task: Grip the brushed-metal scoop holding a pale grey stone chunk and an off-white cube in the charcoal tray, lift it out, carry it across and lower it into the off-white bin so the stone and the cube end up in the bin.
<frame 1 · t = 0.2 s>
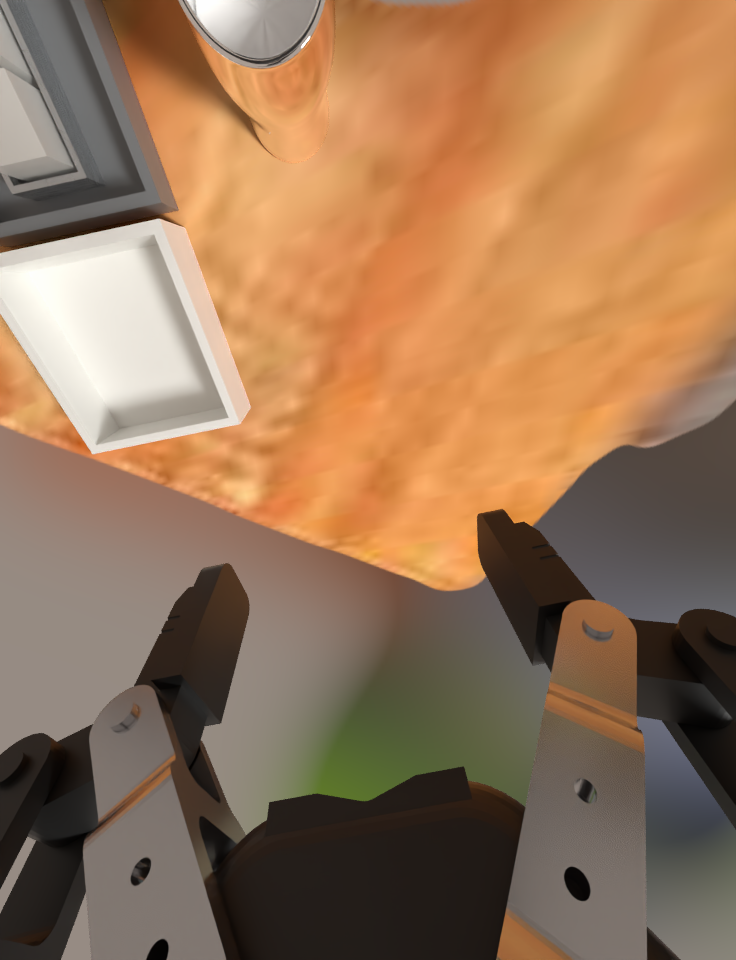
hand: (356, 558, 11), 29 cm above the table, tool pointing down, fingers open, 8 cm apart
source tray: (21, 77, 24), on the table
scoop: (27, 102, 24), point 1 cm above the table, touching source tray, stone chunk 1, off-white cube 2
silver metal goblet: (289, 111, 26), on the table
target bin: (148, 343, 33), on the table
off-white cube 2: (42, 142, 25), point 1 cm above the table, touching scoop
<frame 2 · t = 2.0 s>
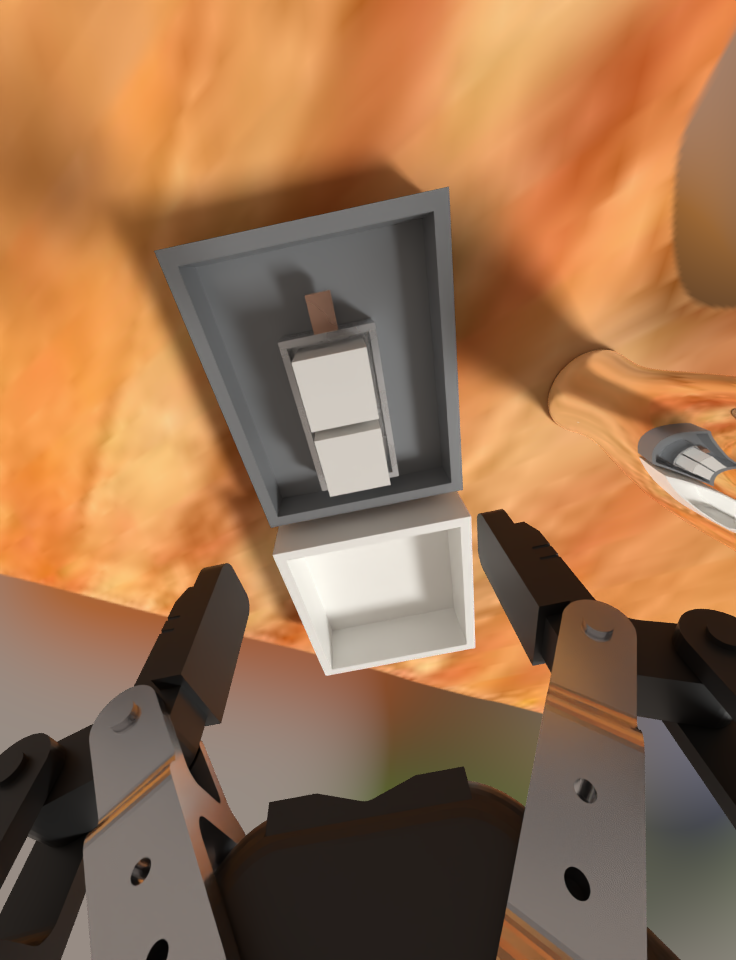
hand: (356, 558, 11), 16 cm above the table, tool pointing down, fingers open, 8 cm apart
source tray: (339, 380, 24), on the table
scoop: (344, 405, 24), point 1 cm above the table, touching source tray, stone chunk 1, off-white cube 2
silver metal goblet: (585, 390, 26), on the table
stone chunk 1: (337, 374, 22), point 1 cm above the table, touching scoop
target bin: (380, 564, 33), on the table
off-white cube 2: (351, 438, 25), point 1 cm above the table, touching scoop
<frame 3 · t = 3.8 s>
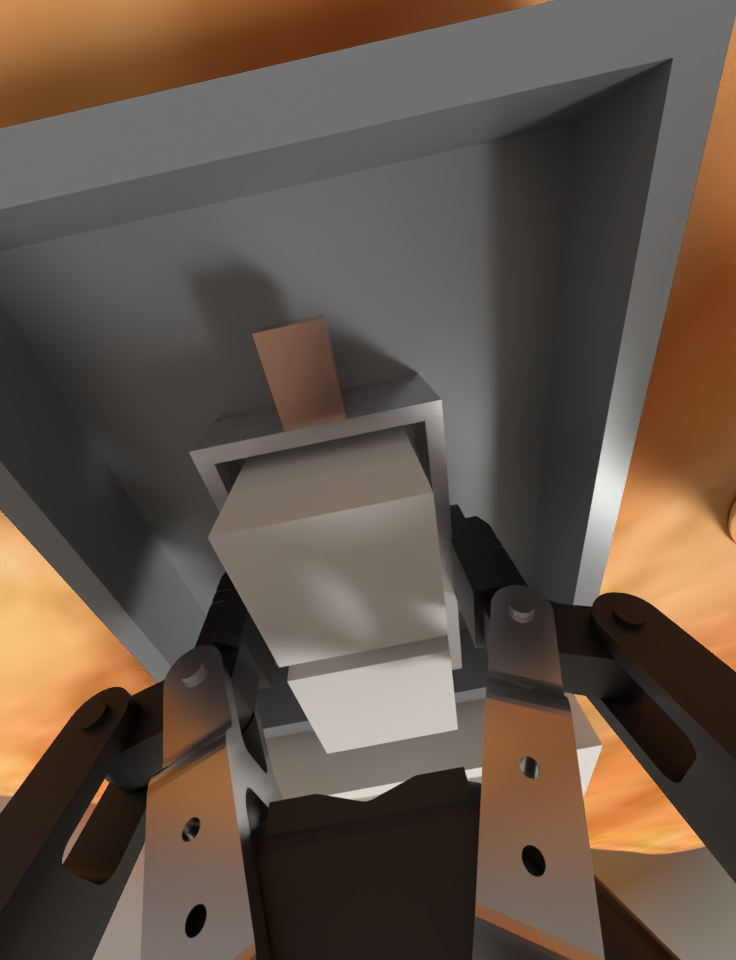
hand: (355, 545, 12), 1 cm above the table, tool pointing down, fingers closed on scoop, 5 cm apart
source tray: (345, 487, 12), on the table
scoop: (355, 534, 12), point 1 cm above the table, touching gripper, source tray, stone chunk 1, off-white cube 2
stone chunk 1: (341, 489, 10), point 1 cm above the table, touching scoop
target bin: (408, 730, 21), on the table
off-white cube 2: (368, 592, 13), point 1 cm above the table, touching scoop
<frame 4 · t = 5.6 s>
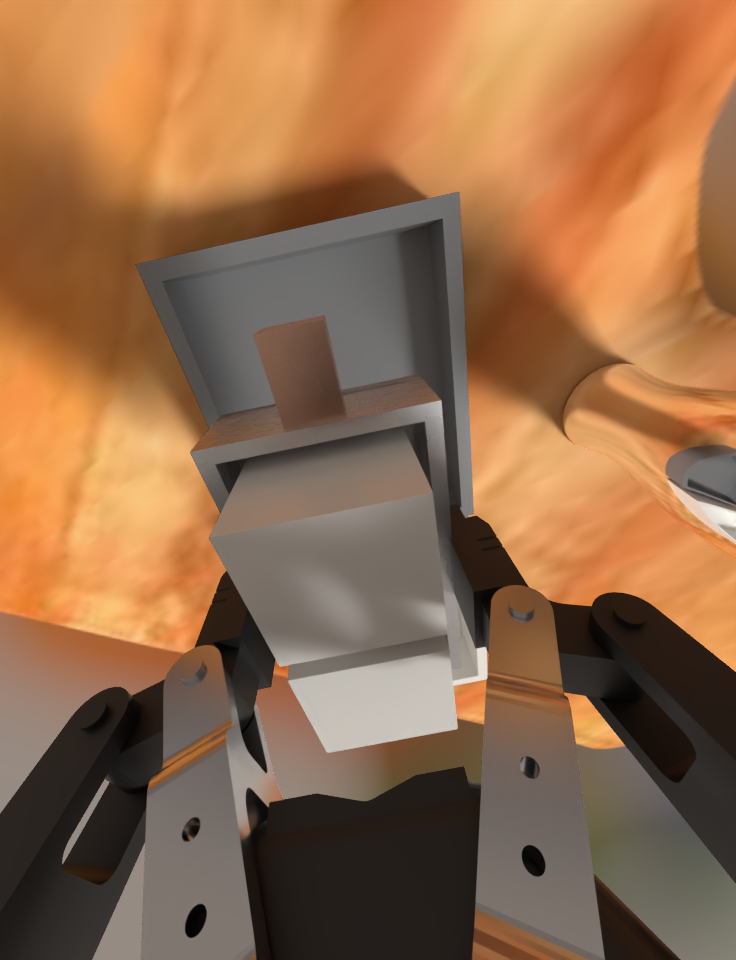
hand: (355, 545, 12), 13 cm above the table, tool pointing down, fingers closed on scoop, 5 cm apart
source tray: (340, 399, 22), on the table
scoop: (355, 534, 12), point 12 cm above the table, touching gripper, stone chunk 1, off-white cube 2
silver metal goblet: (602, 406, 25), on the table
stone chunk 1: (341, 489, 10), point 13 cm above the table, touching scoop
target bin: (385, 590, 31), on the table
off-white cube 2: (368, 592, 13), point 13 cm above the table, touching scoop
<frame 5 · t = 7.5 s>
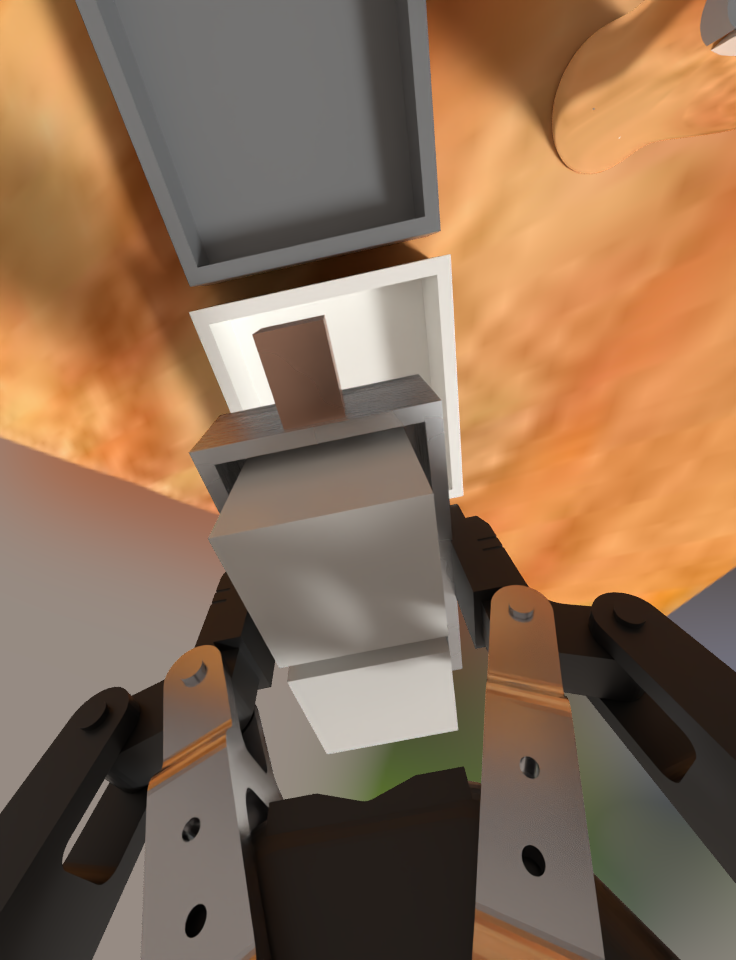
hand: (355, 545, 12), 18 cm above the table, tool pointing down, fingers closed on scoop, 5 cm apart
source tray: (272, 63, 18), on the table
scoop: (355, 535, 12), point 17 cm above the table, touching gripper, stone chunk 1, off-white cube 2
silver metal goblet: (601, 106, 20), on the table
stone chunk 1: (341, 489, 10), point 18 cm above the table, touching scoop
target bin: (347, 396, 27), on the table
off-white cube 2: (368, 592, 13), point 18 cm above the table, touching scoop
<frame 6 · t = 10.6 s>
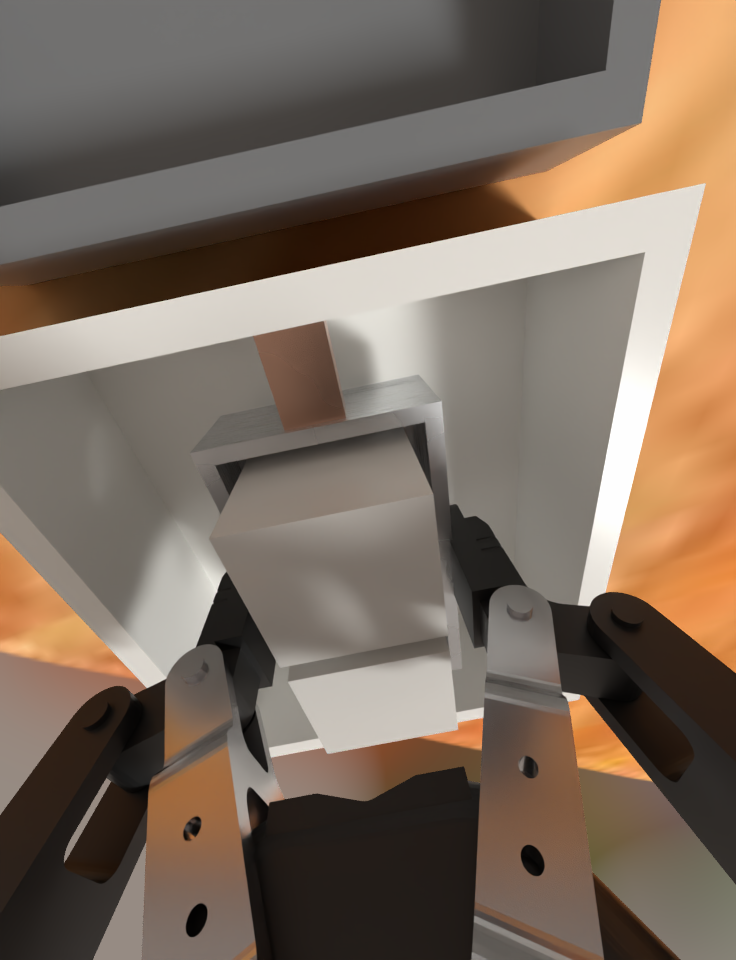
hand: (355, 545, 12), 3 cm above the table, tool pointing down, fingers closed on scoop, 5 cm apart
scoop: (355, 535, 12), point 2 cm above the table, touching gripper, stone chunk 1, off-white cube 2
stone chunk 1: (341, 490, 10), point 3 cm above the table, touching scoop
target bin: (351, 502, 14), on the table
off-white cube 2: (369, 592, 13), point 3 cm above the table, touching scoop
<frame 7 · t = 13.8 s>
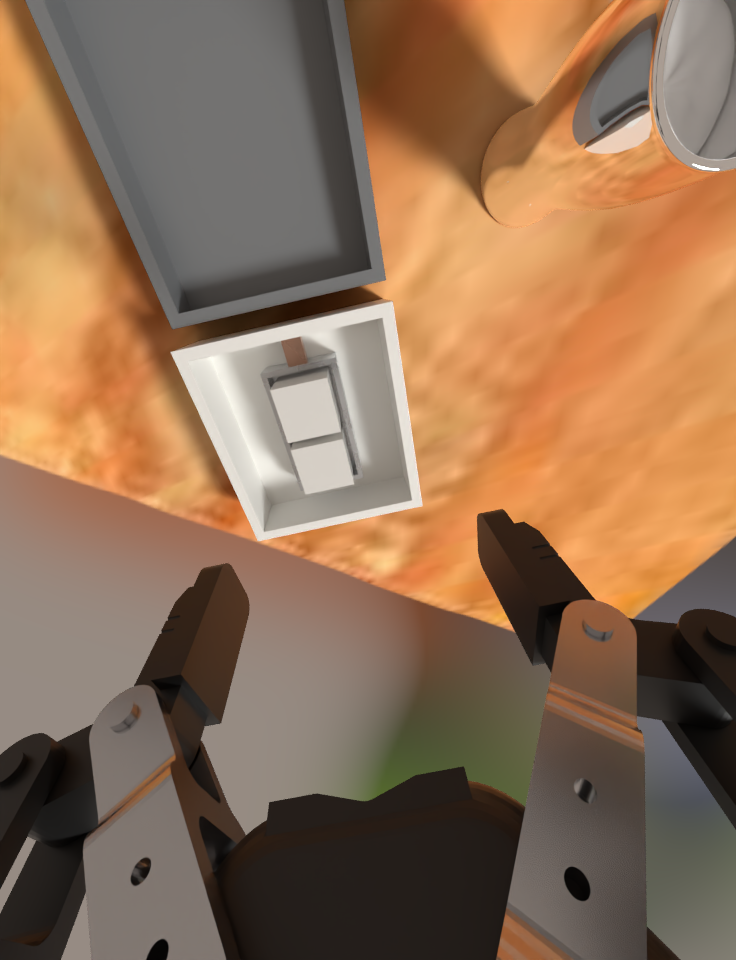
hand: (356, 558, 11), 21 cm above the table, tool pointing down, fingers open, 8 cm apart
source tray: (239, 146, 21), on the table
scoop: (317, 420, 30), point 1 cm above the table, touching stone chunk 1, off-white cube 2, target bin
silver metal goblet: (522, 173, 23), on the table
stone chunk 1: (310, 396, 28), point 1 cm above the table, touching scoop
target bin: (317, 418, 30), on the table
off-white cube 2: (324, 447, 30), point 1 cm above the table, touching scoop
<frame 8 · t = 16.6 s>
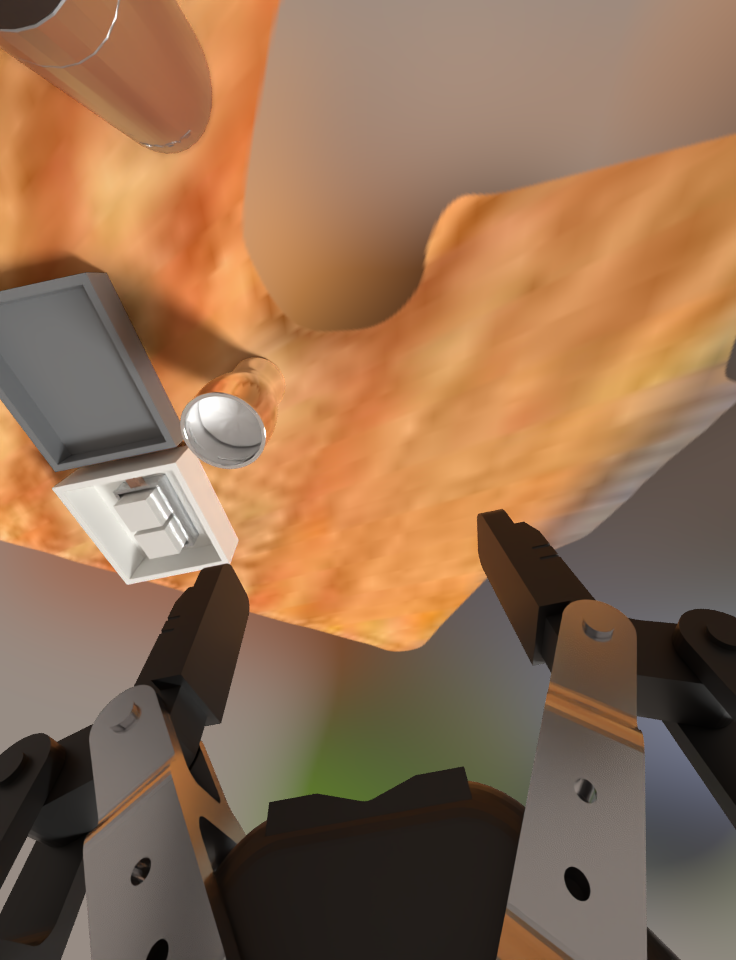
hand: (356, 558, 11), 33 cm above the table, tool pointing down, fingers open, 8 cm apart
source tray: (88, 377, 38), on the table
scoop: (163, 509, 47), point 1 cm above the table, touching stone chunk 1, off-white cube 2, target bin
silver metal goblet: (259, 383, 41), on the table
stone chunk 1: (153, 498, 45), point 1 cm above the table, touching scoop
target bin: (165, 506, 48), on the table
off-white cube 2: (169, 525, 48), point 1 cm above the table, touching scoop
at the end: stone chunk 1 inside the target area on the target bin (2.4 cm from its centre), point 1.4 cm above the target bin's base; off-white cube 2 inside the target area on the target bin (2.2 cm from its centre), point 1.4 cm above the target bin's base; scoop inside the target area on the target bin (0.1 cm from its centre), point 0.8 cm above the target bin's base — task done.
